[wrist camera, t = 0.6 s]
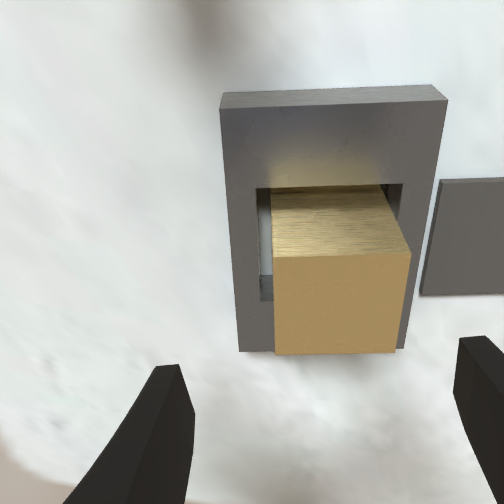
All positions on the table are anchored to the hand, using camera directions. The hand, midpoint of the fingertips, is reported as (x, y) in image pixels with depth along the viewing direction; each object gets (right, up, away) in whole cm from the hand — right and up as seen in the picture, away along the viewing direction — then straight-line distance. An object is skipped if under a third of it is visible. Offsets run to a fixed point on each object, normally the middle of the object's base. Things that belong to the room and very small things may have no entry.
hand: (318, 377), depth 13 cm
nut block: (+1, +5, +9) cm, 11 cm away
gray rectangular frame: (+1, +5, +9) cm, 10 cm away
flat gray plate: (+9, +4, +10) cm, 14 cm away
